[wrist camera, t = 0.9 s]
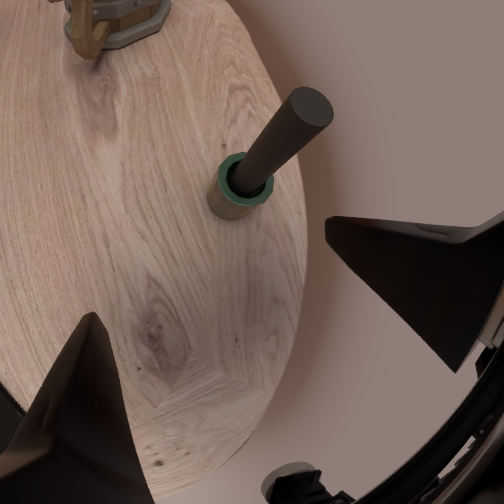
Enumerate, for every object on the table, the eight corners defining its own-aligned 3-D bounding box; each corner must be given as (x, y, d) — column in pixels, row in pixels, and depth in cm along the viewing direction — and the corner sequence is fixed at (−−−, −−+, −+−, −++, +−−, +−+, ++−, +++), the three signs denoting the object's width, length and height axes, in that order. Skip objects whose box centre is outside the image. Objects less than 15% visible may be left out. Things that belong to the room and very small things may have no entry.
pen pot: (249, 224, 24) (270, 211, 19) (203, 215, 23) (213, 200, 18) (255, 181, 24) (276, 160, 19) (211, 171, 23) (223, 146, 18)
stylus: (241, 209, 23) (334, 133, 10) (218, 205, 23) (288, 116, 9) (244, 187, 23) (333, 96, 10) (221, 183, 23) (291, 80, 9)
